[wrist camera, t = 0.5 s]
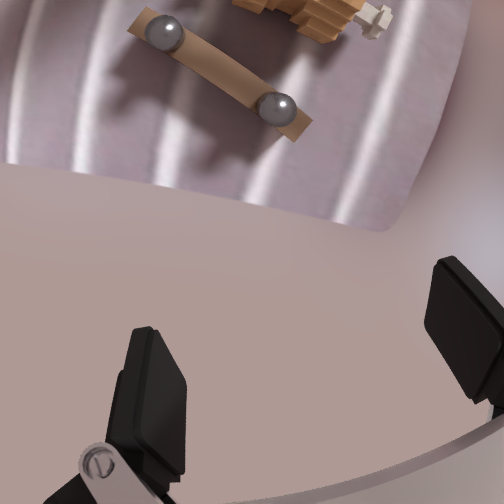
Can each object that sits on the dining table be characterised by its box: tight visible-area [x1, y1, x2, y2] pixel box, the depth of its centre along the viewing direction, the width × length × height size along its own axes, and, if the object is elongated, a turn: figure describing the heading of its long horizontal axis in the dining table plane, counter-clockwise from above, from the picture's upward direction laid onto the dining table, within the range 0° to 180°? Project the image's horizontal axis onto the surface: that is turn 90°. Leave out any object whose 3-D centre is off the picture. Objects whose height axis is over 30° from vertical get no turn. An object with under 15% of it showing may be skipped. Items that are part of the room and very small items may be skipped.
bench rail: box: [127, 7, 313, 142], centre depth 27 cm, size 3×20×9 cm, turn 52°
